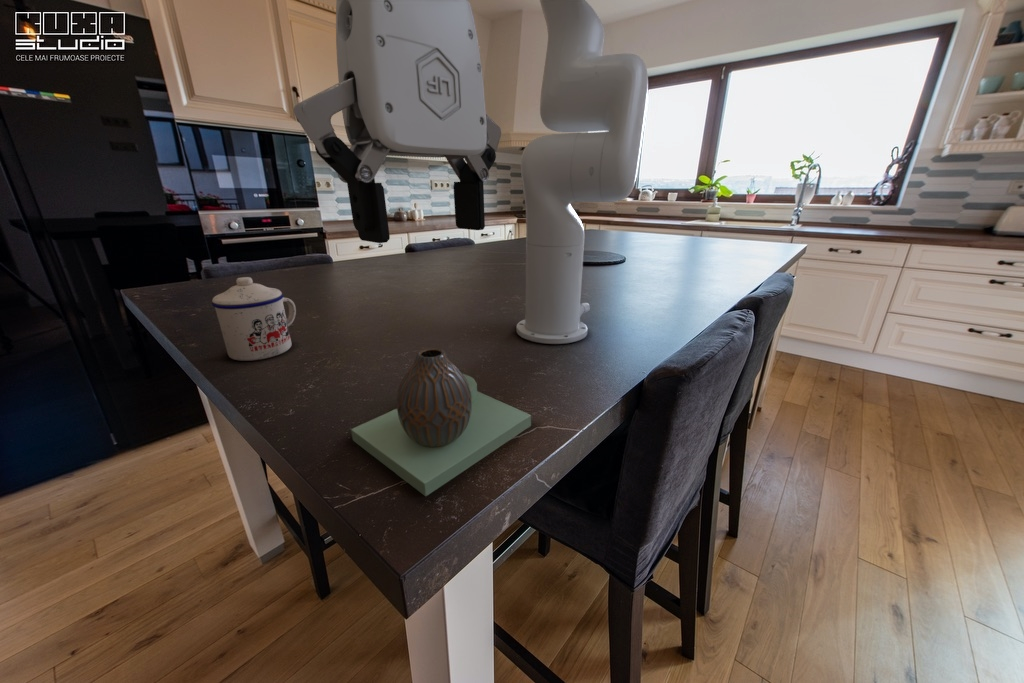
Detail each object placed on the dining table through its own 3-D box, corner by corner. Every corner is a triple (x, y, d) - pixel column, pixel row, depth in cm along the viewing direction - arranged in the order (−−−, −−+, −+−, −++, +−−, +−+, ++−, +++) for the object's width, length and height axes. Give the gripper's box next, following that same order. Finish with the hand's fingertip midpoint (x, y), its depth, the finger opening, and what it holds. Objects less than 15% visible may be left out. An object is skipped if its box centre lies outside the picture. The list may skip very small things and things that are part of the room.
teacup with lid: (256, 366, 57) (236, 286, 53) (212, 357, 60) (190, 282, 56) (320, 338, 68) (307, 271, 63) (280, 332, 70) (265, 267, 66)
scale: (454, 390, 50) (453, 368, 49) (531, 426, 42) (531, 401, 41) (350, 439, 40) (346, 413, 39) (425, 497, 33) (422, 467, 32)
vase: (459, 462, 35) (454, 372, 32) (387, 452, 36) (375, 364, 33) (481, 420, 41) (478, 341, 38) (419, 413, 42) (411, 336, 39)
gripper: (289, -132, 18) (351, 253, 24) (530, -7, 30) (528, 228, 36) (235, -67, 22) (299, 242, 29) (462, 19, 34) (471, 223, 41)
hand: (427, 234), depth 32 cm, fingers open, 9 cm apart
